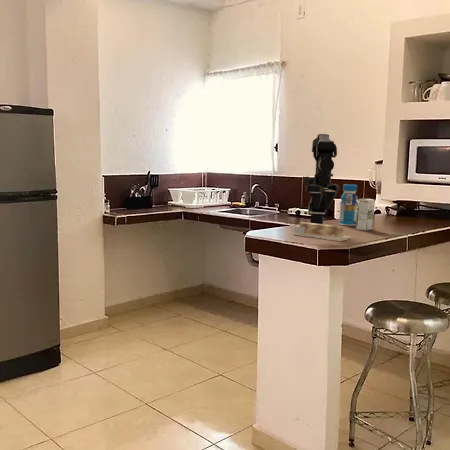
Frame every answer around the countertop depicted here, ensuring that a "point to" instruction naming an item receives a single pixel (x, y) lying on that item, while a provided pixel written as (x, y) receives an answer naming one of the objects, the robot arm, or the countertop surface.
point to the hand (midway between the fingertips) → (322, 208)
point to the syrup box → (365, 214)
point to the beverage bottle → (348, 205)
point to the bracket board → (301, 232)
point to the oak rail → (322, 229)
